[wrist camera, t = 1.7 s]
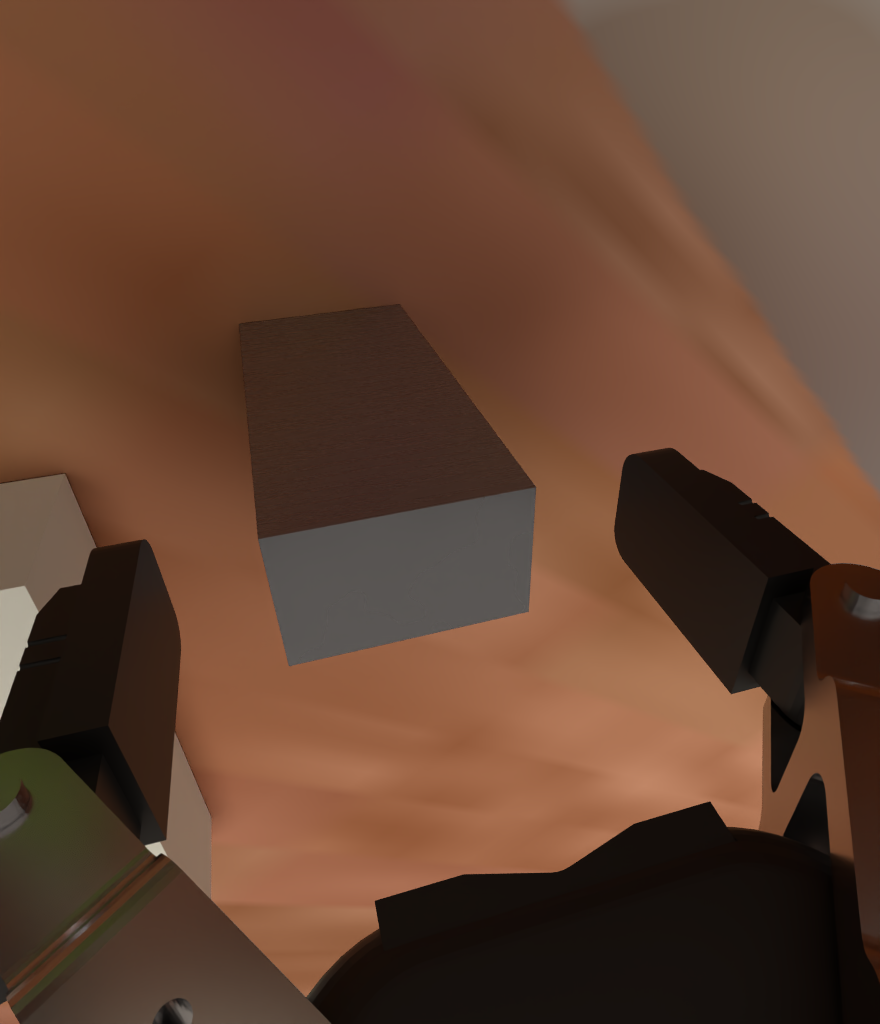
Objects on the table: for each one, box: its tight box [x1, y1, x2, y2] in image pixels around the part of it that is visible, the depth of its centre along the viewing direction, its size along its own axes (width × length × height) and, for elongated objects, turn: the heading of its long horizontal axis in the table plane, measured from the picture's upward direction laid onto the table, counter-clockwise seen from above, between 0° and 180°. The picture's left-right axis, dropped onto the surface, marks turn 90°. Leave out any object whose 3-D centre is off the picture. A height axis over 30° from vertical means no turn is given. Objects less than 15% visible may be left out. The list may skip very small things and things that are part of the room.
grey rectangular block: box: [239, 304, 536, 666], centre depth 15 cm, size 6×4×9 cm, turn 2°
